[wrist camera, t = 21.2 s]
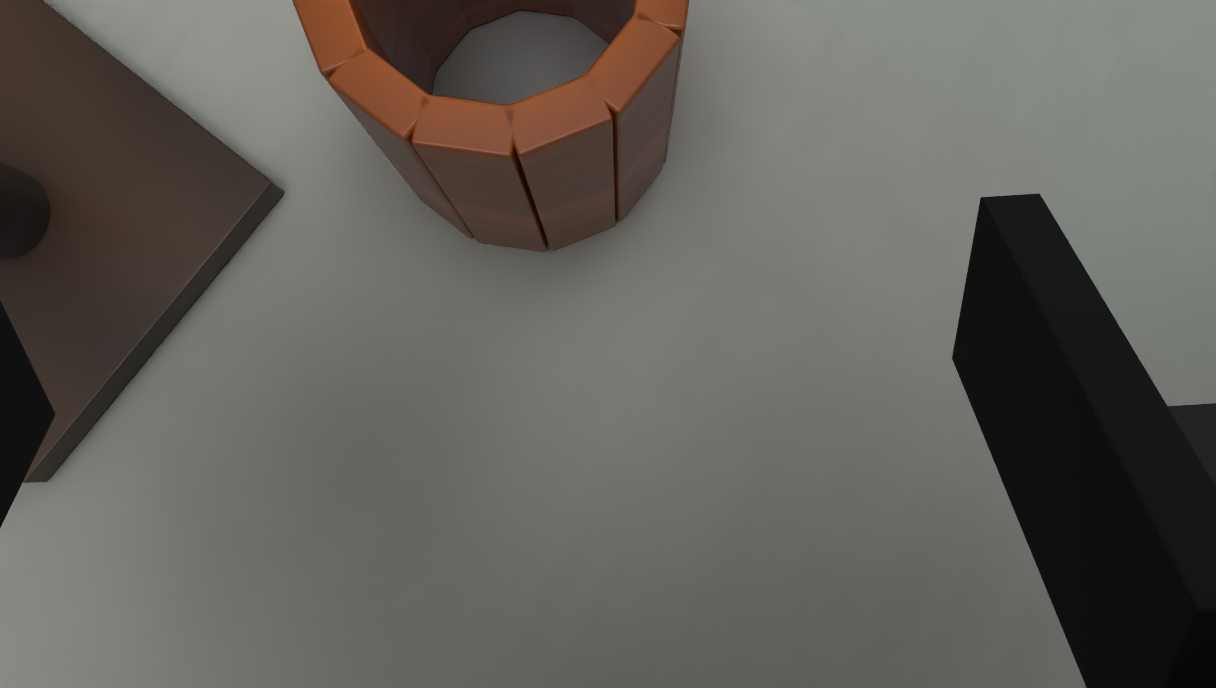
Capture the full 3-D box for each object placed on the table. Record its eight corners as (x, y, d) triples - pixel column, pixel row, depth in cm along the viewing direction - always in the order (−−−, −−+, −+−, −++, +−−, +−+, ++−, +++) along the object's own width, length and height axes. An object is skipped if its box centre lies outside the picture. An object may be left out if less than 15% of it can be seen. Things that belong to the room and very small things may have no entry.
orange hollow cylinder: (510, -76, 32) (460, -312, 22) (727, 88, 32) (774, -80, 22) (337, 135, 32) (208, -11, 22) (554, 305, 31) (524, 235, 21)
